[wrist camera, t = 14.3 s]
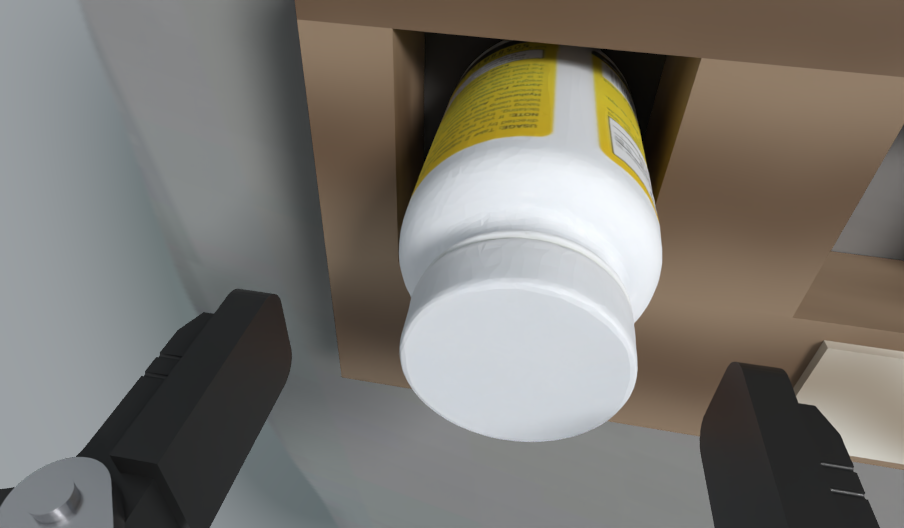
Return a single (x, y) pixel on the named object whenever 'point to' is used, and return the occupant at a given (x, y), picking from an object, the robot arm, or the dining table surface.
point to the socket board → (657, 188)
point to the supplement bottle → (530, 246)
